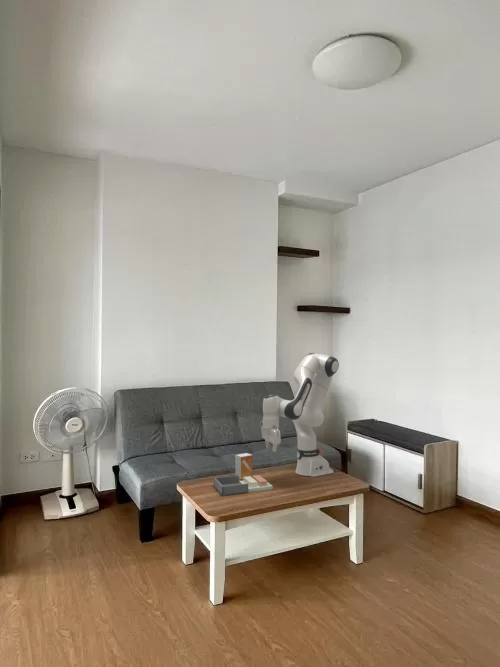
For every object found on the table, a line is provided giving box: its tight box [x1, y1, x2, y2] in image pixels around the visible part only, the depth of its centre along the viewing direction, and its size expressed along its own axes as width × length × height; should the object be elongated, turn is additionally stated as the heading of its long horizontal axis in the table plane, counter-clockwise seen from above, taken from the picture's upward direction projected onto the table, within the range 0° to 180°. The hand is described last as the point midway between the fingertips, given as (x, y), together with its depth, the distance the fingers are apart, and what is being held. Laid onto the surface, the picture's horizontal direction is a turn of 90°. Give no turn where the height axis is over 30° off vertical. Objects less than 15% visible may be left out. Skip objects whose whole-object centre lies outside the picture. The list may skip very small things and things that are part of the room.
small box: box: [234, 452, 253, 478], centre depth 272 cm, size 8×6×13 cm
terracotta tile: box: [252, 474, 268, 487], centre depth 254 cm, size 4×12×2 cm, turn 19°
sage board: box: [239, 480, 274, 493], centre depth 254 cm, size 14×15×2 cm
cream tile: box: [242, 476, 258, 488], centre depth 253 cm, size 4×12×2 cm, turn 18°
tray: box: [213, 474, 249, 497], centre depth 249 cm, size 14×18×5 cm
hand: (271, 449), depth 257 cm, fingers open, 8 cm apart
